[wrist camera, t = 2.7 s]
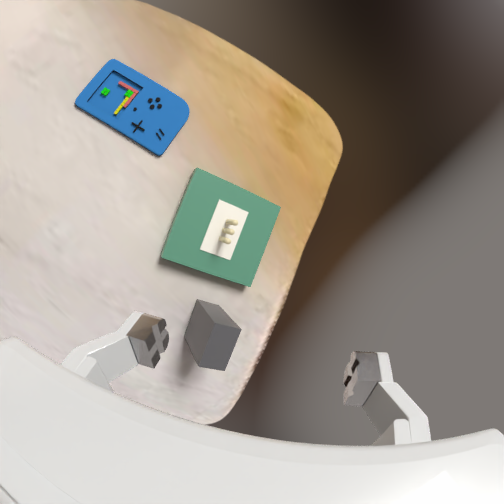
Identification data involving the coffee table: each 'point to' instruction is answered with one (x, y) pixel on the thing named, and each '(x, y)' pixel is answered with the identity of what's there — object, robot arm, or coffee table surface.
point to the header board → (220, 229)
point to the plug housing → (211, 335)
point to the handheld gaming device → (134, 106)
